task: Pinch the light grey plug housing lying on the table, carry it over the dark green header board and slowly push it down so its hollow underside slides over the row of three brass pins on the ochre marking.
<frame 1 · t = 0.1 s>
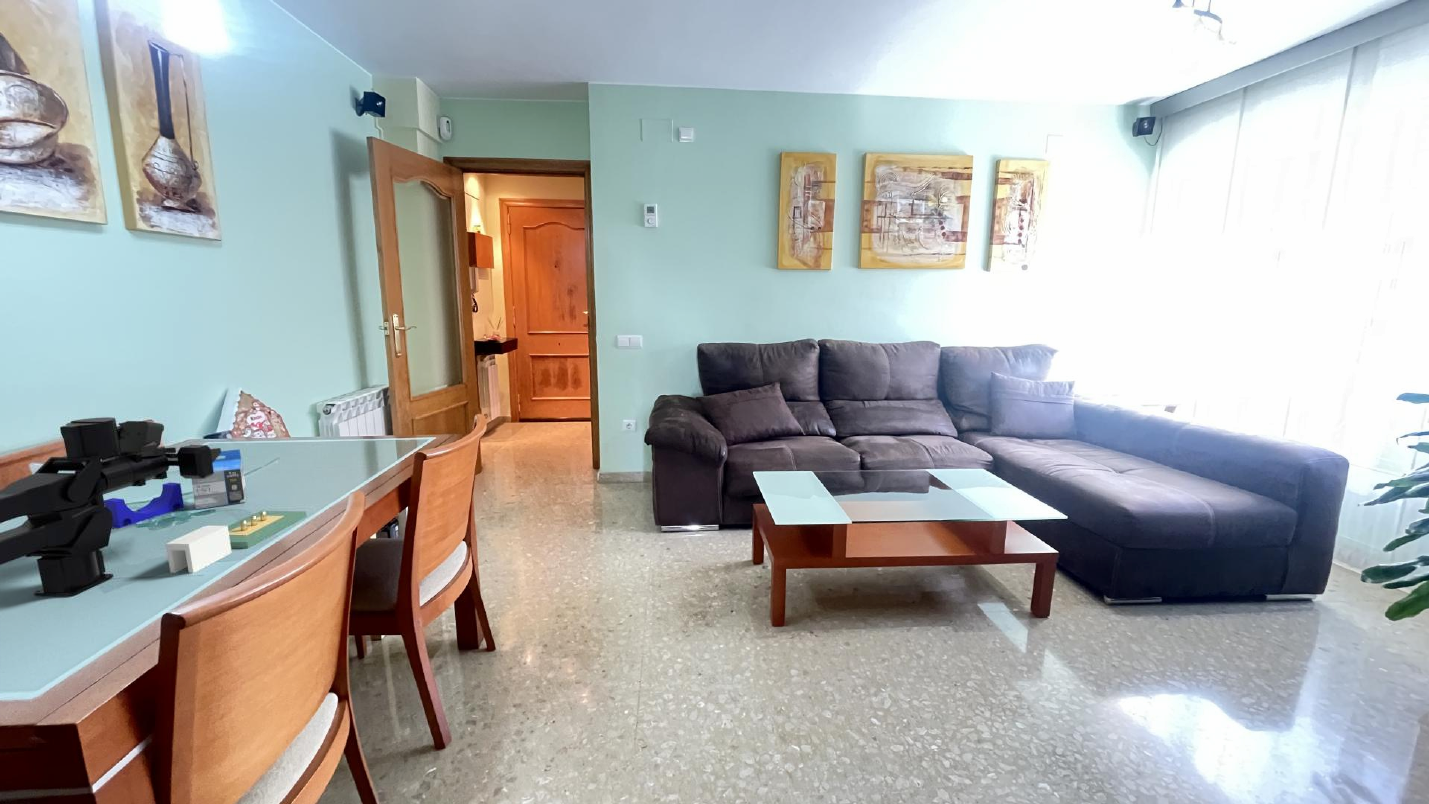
hand: (197, 450, 115), 17 cm above the table, tool horizontal, fingers open, 9 cm apart
label tape box: (222, 504, 130), on the table
plug housing: (202, 562, 102), on the table
header board: (255, 530, 116), on the table
blue cradle block: (145, 518, 122), on the table
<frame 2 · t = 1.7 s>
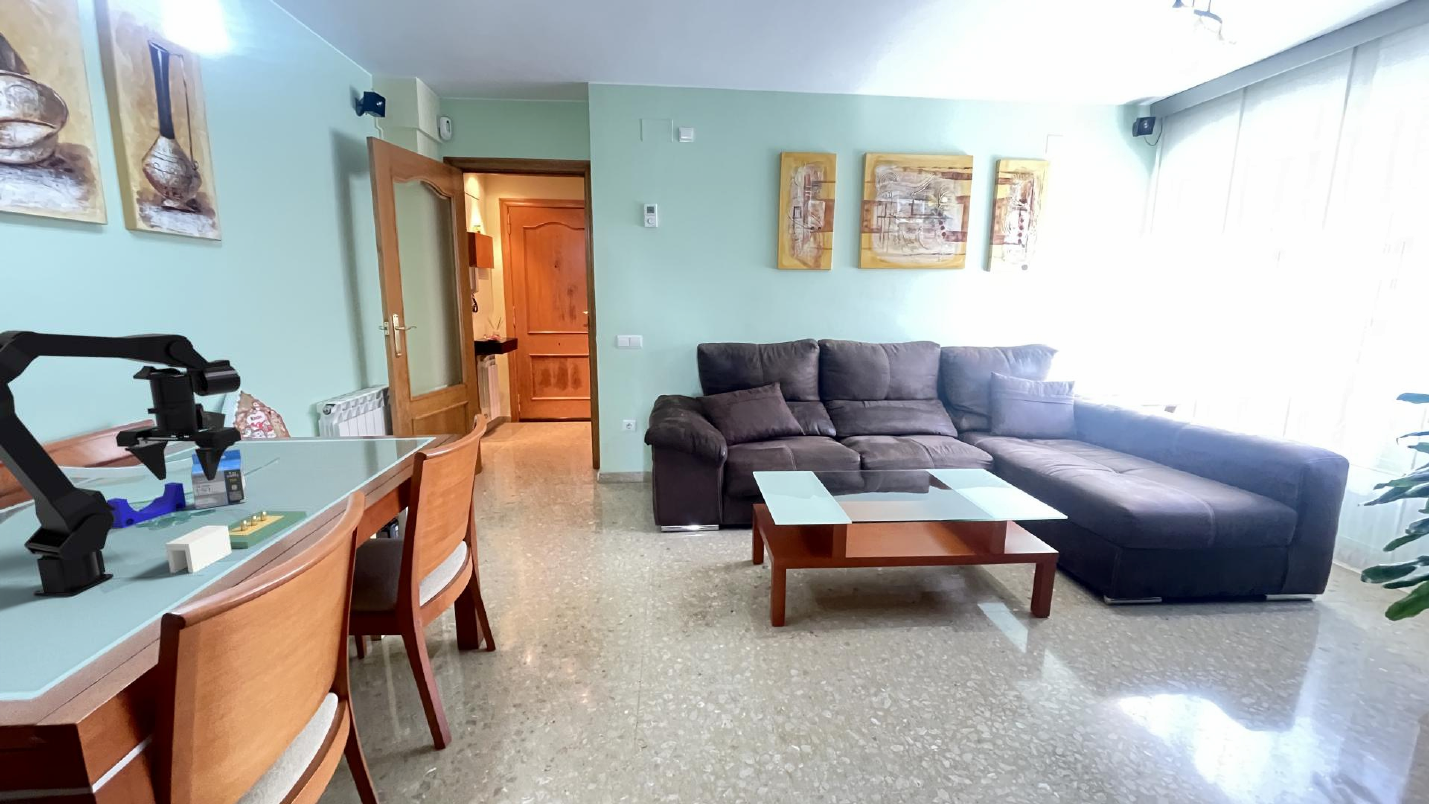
hand: (186, 479, 108), 13 cm above the table, tool pointing down, fingers open, 9 cm apart
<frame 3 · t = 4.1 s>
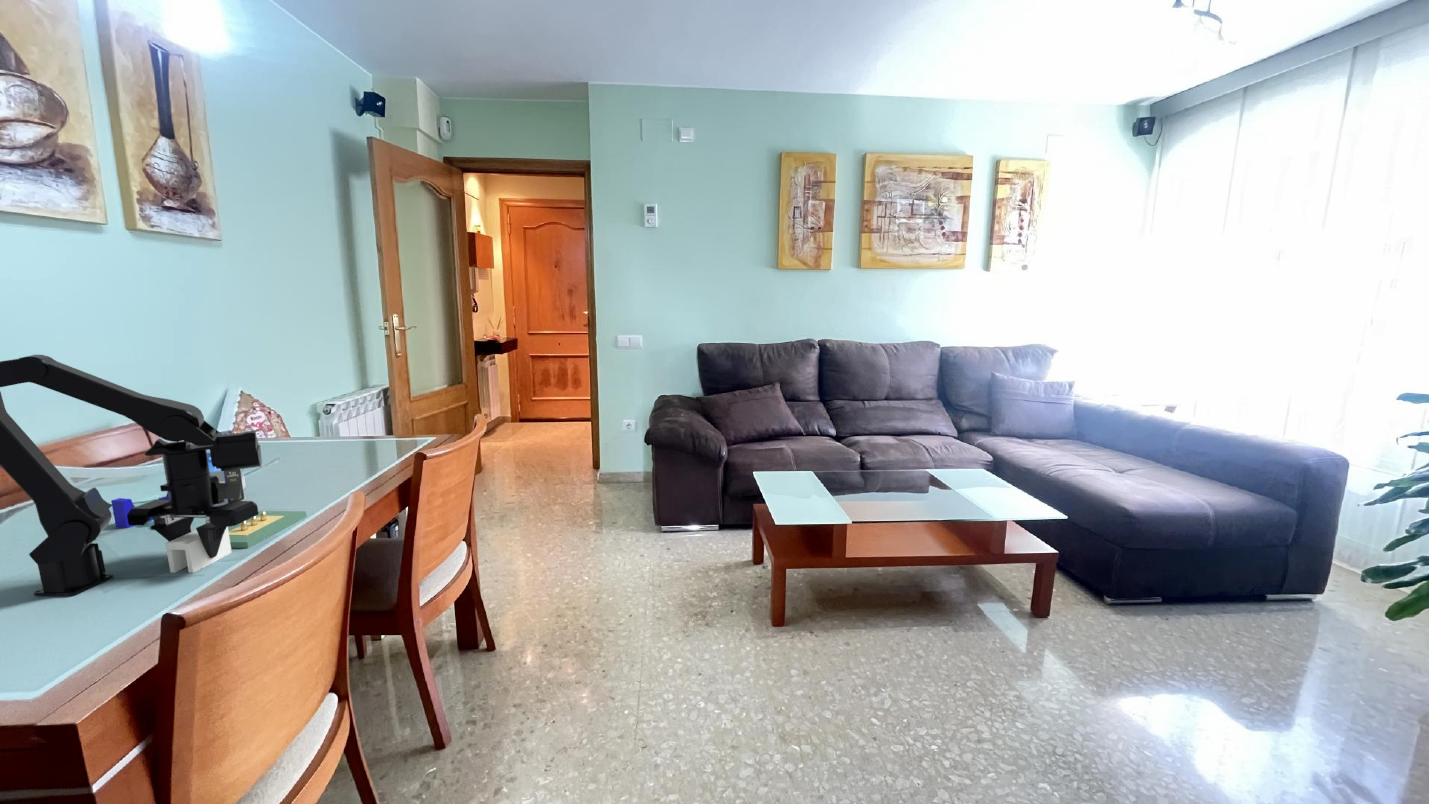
hand: (201, 556, 102), 1 cm above the table, tool pointing down, fingers closed on plug housing, 4 cm apart
plug housing: (202, 562, 102), on the table, touching gripper
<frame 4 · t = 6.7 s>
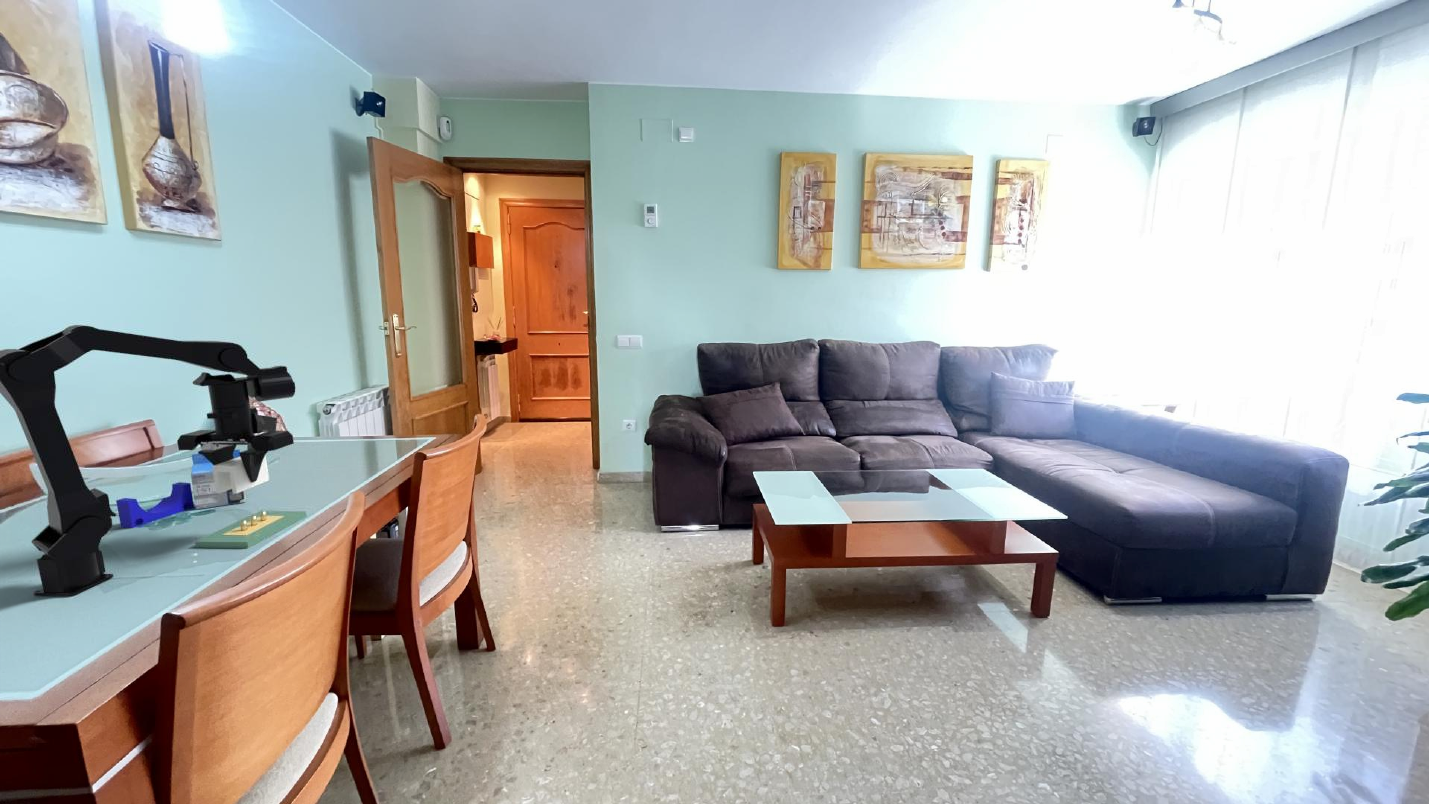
hand: (243, 481, 112), 11 cm above the table, tool pointing down, fingers closed on plug housing, 4 cm apart
plug housing: (243, 486, 112), point 10 cm above the table, touching gripper
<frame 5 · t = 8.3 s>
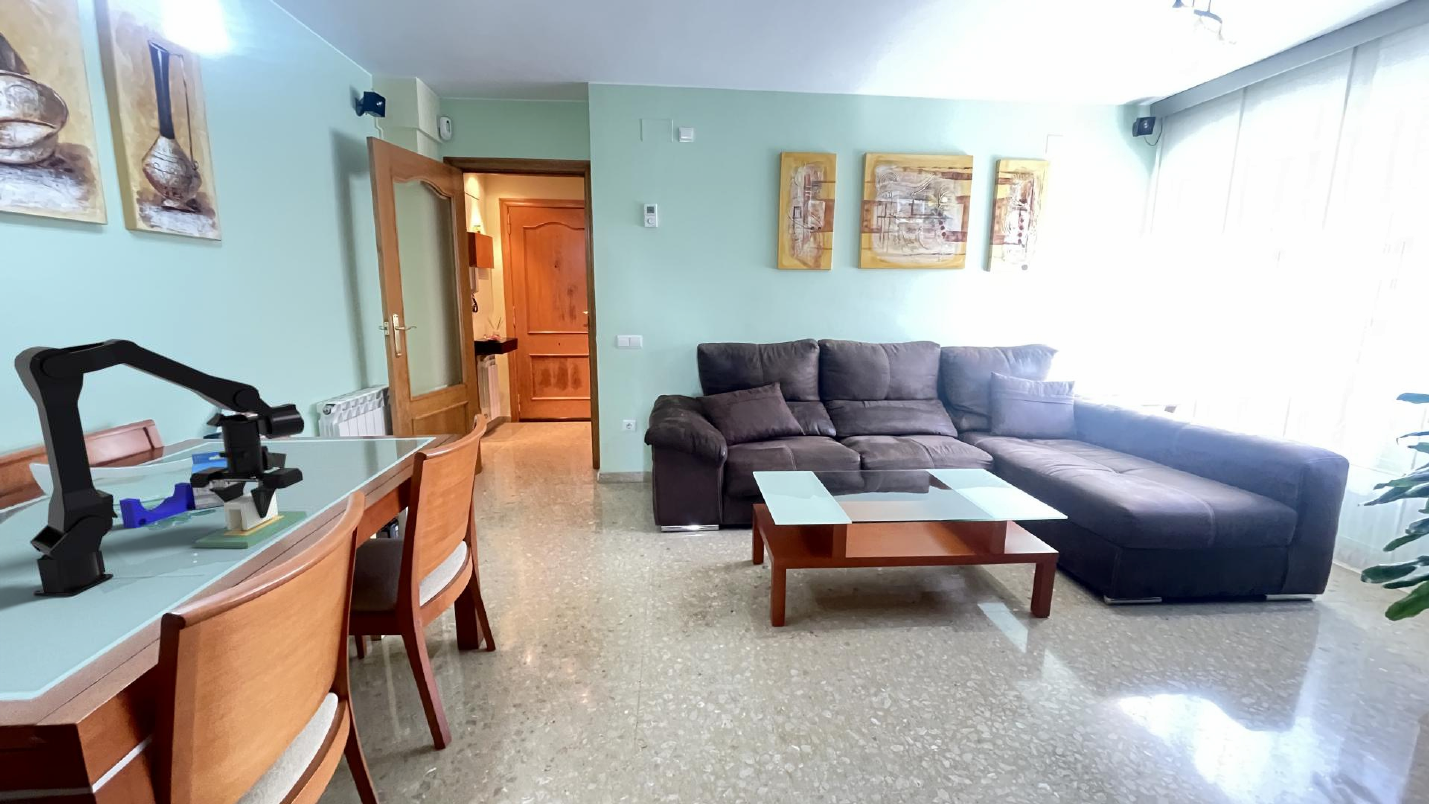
hand: (252, 517, 115), 3 cm above the table, tool pointing down, fingers closed on plug housing, 4 cm apart
plug housing: (253, 521, 115), point 2 cm above the table, touching gripper
when the fingers open (3 cm above the table, at t = 9.4 s): plug housing stays where it is, resting on header board.
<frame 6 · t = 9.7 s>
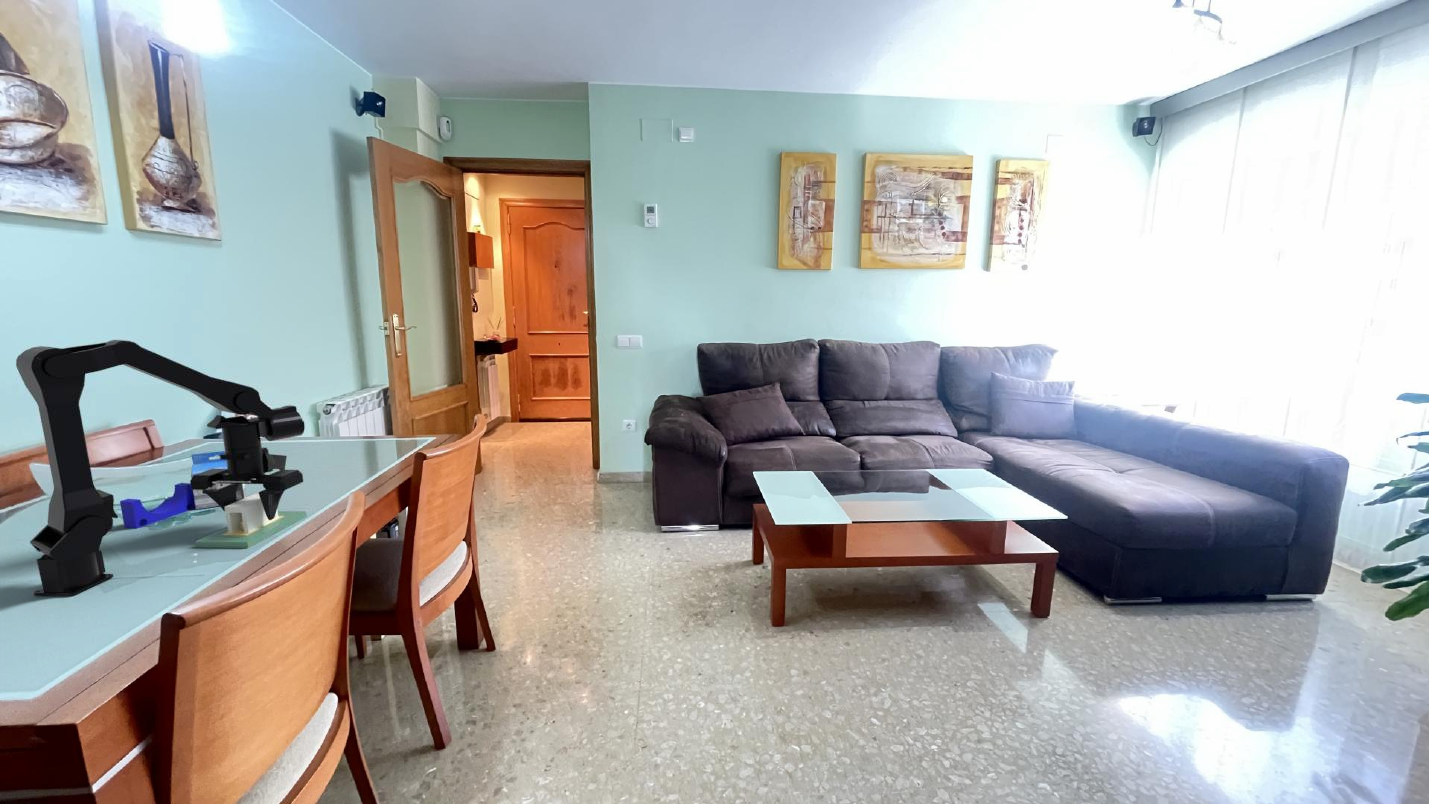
hand: (253, 519, 115), 3 cm above the table, tool pointing down, fingers open, 7 cm apart
label tape box: (222, 504, 130), on the table, touching blue cradle block
plug housing: (254, 525, 116), point 1 cm above the table, touching header board
blue cradle block: (159, 518, 122), on the table, touching label tape box
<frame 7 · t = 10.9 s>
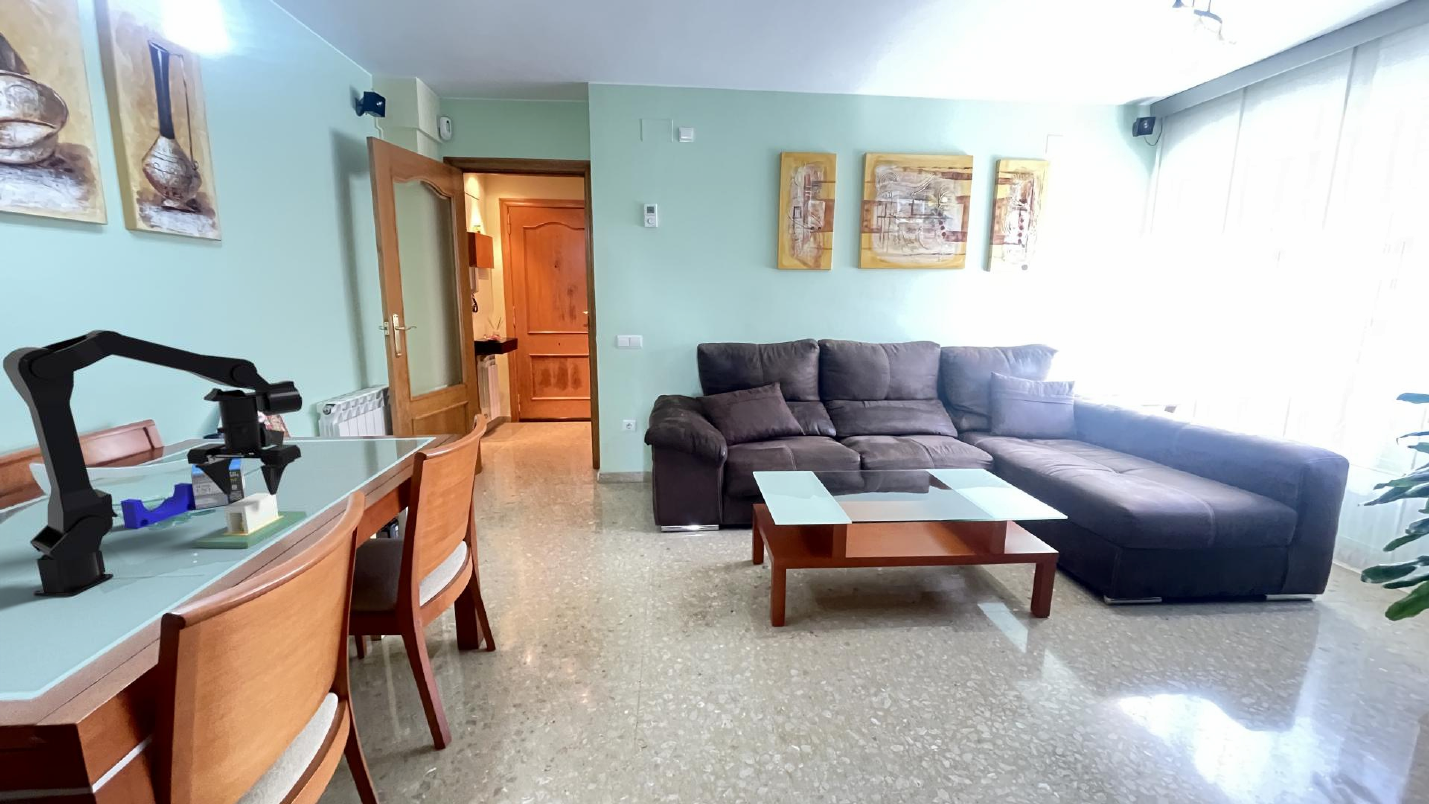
hand: (250, 494, 115), 8 cm above the table, tool pointing down, fingers open, 9 cm apart
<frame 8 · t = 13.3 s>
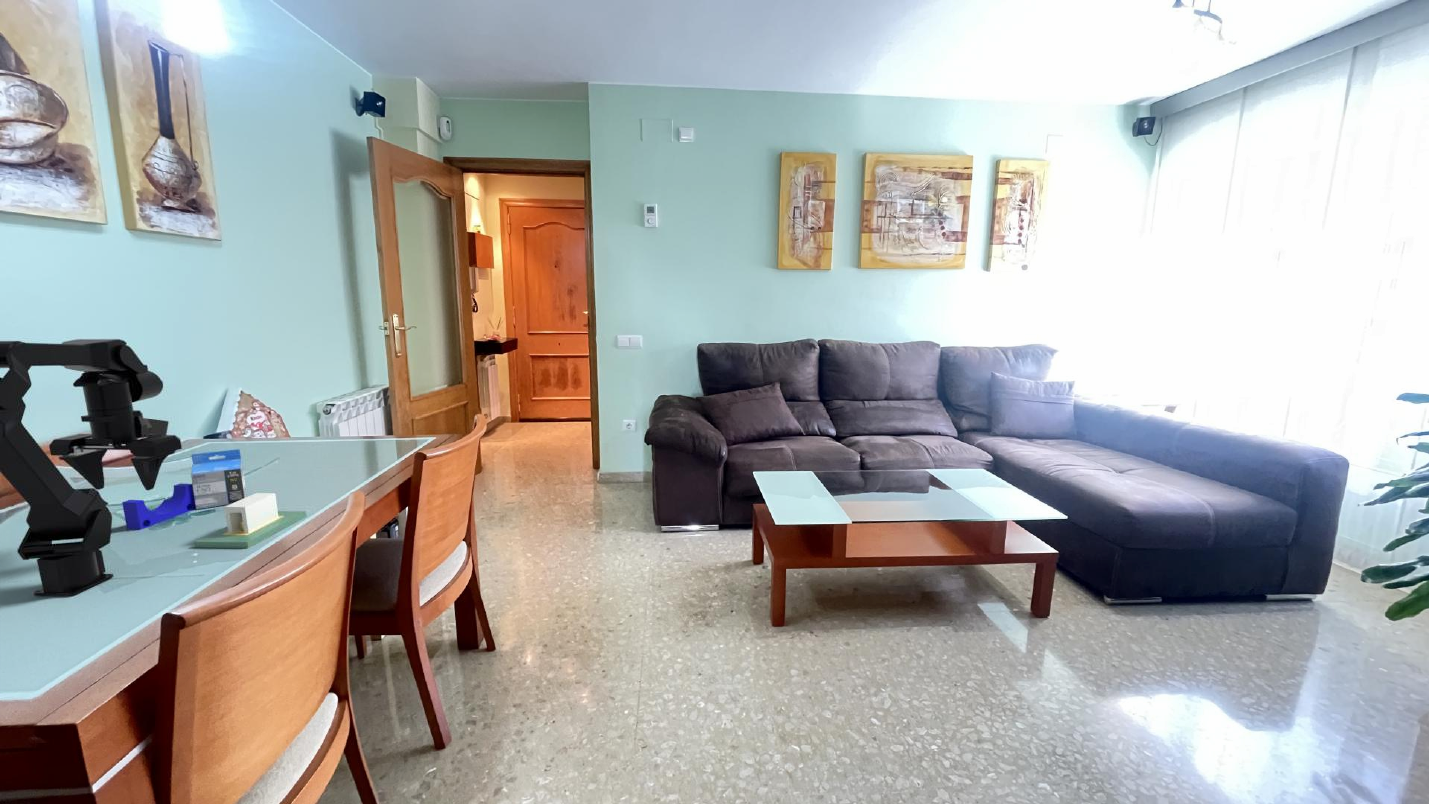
hand: (125, 489, 105), 12 cm above the table, tool pointing down, fingers open, 9 cm apart
label tape box: (222, 504, 130), on the table
blue cradle block: (160, 519, 122), on the table
everything else where it was.
at the end: plug housing 0.0 cm off-centre on the header board, point 1.3 cm above the header board's base; plug housing tilted 0°; the gripper is holding nothing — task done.
